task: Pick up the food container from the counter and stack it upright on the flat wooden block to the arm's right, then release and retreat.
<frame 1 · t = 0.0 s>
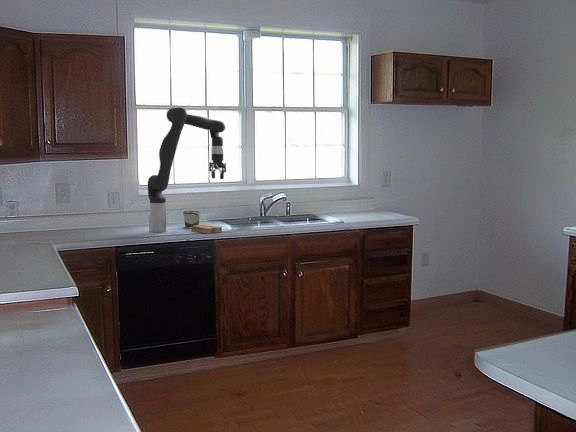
hand: (217, 178, 401), 29 cm above the countertop, fingers open, 8 cm apart
food container: (194, 227, 391), on the countertop
flat wooden block: (206, 231, 374), on the countertop
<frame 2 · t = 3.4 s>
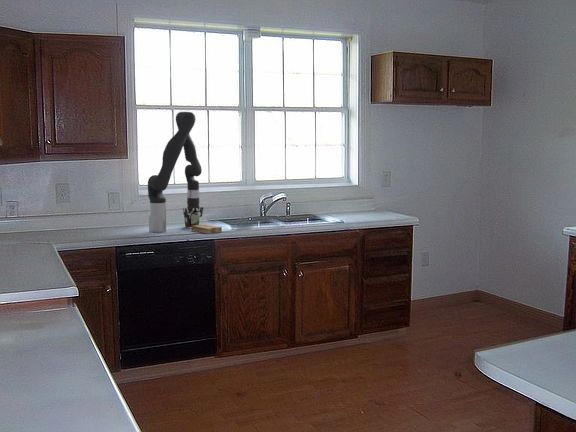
hand: (193, 224, 390), 2 cm above the countertop, fingers closed on food container, 5 cm apart
food container: (194, 227, 391), on the countertop, touching gripper
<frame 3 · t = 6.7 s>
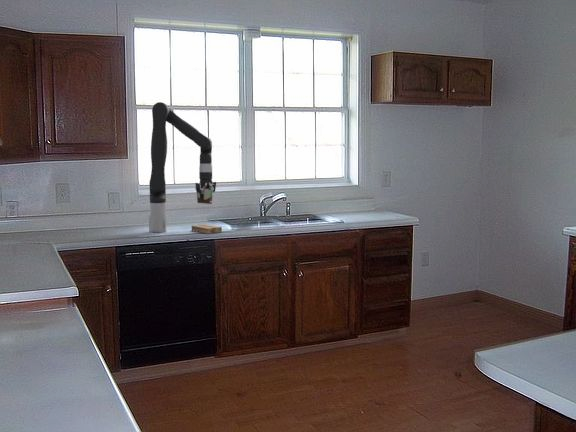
hand: (206, 199, 372), 19 cm above the countertop, fingers closed on food container, 5 cm apart
food container: (207, 203, 372), point 17 cm above the countertop, touching gripper
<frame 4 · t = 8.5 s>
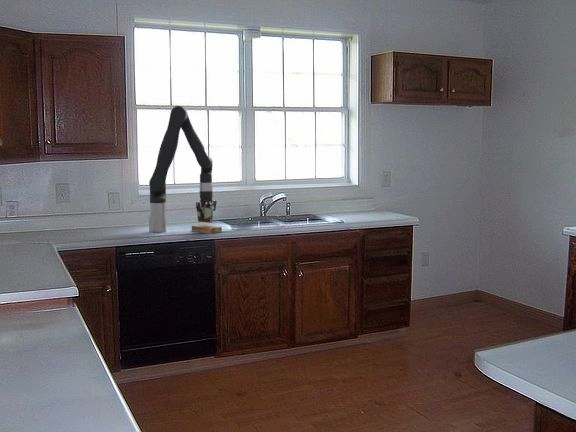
hand: (206, 218, 373), 8 cm above the countertop, fingers closed on food container, 5 cm apart
food container: (207, 222, 374), point 6 cm above the countertop, touching gripper
when the fingers open (6 cm above the countertop, at t = 9.9 s): food container stays where it is, resting on flat wooden block.
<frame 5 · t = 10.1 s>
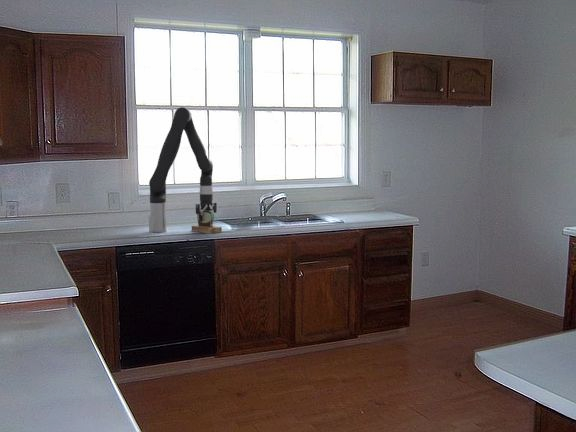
hand: (206, 220, 373), 6 cm above the countertop, fingers open, 7 cm apart
food container: (207, 226, 375), point 3 cm above the countertop, touching gripper, flat wooden block
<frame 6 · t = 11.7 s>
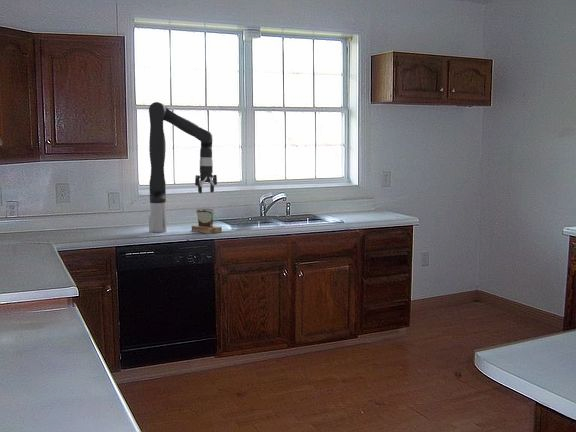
hand: (206, 192, 371), 23 cm above the countertop, fingers open, 8 cm apart
food container: (207, 226, 375), point 3 cm above the countertop, touching flat wooden block
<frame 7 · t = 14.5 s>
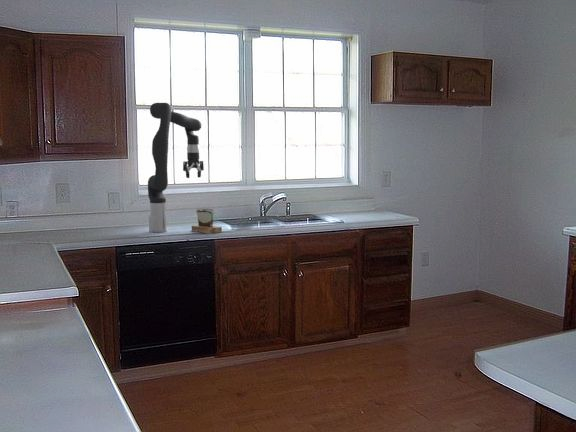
hand: (193, 177, 397), 30 cm above the countertop, fingers open, 8 cm apart
nothing on the countertop moved.
at the end: food container inside the target area on the flat wooden block (1.1 cm from its centre), point 2.8 cm above the flat wooden block's base; food container tilted 0°; the gripper is holding nothing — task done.
